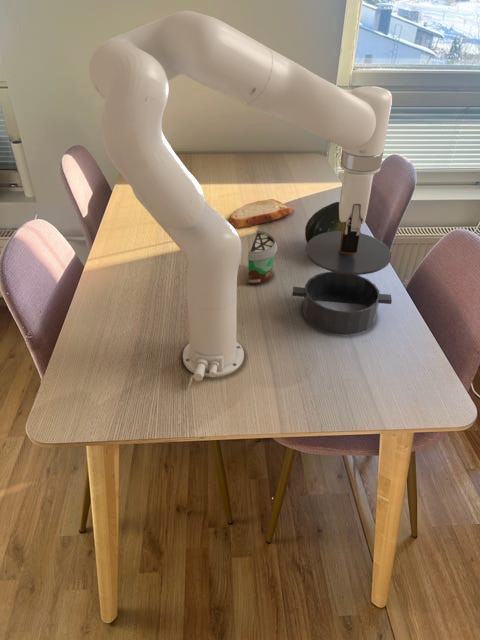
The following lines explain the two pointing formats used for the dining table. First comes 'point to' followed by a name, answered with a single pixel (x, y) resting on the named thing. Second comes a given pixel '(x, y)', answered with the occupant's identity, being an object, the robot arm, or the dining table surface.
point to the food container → (261, 258)
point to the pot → (340, 291)
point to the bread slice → (259, 213)
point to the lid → (348, 253)
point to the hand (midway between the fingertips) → (348, 245)
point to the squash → (324, 221)
